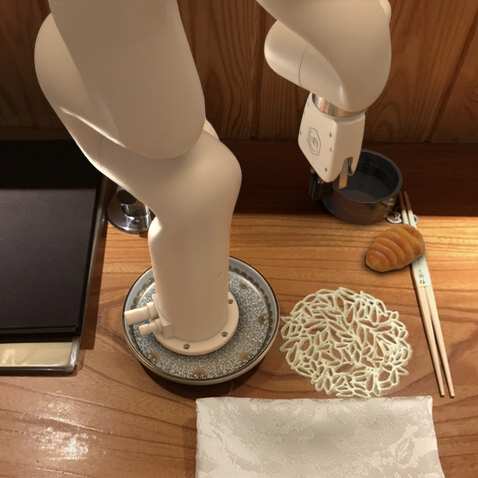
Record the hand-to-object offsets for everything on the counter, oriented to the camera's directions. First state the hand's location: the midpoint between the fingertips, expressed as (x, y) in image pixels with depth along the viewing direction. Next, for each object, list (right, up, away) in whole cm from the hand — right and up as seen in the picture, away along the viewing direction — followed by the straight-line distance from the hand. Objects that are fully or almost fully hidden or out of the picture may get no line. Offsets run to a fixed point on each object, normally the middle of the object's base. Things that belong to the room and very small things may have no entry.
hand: (319, 194), depth 89 cm
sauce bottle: (-19, +5, -4) cm, 20 cm away
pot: (+7, +1, +4) cm, 8 cm away
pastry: (+11, -10, -2) cm, 15 cm away
